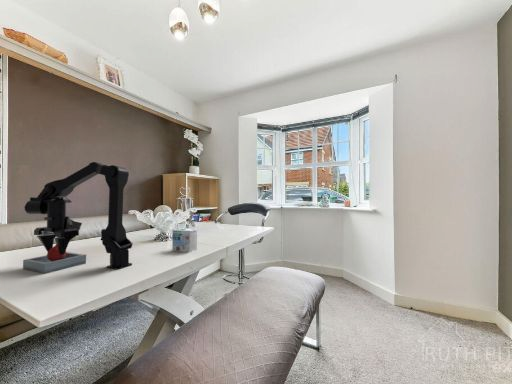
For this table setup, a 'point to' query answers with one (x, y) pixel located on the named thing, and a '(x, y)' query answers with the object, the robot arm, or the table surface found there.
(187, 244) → the light bulb box
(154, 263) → the table surface
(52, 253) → the onion
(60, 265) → the tray
